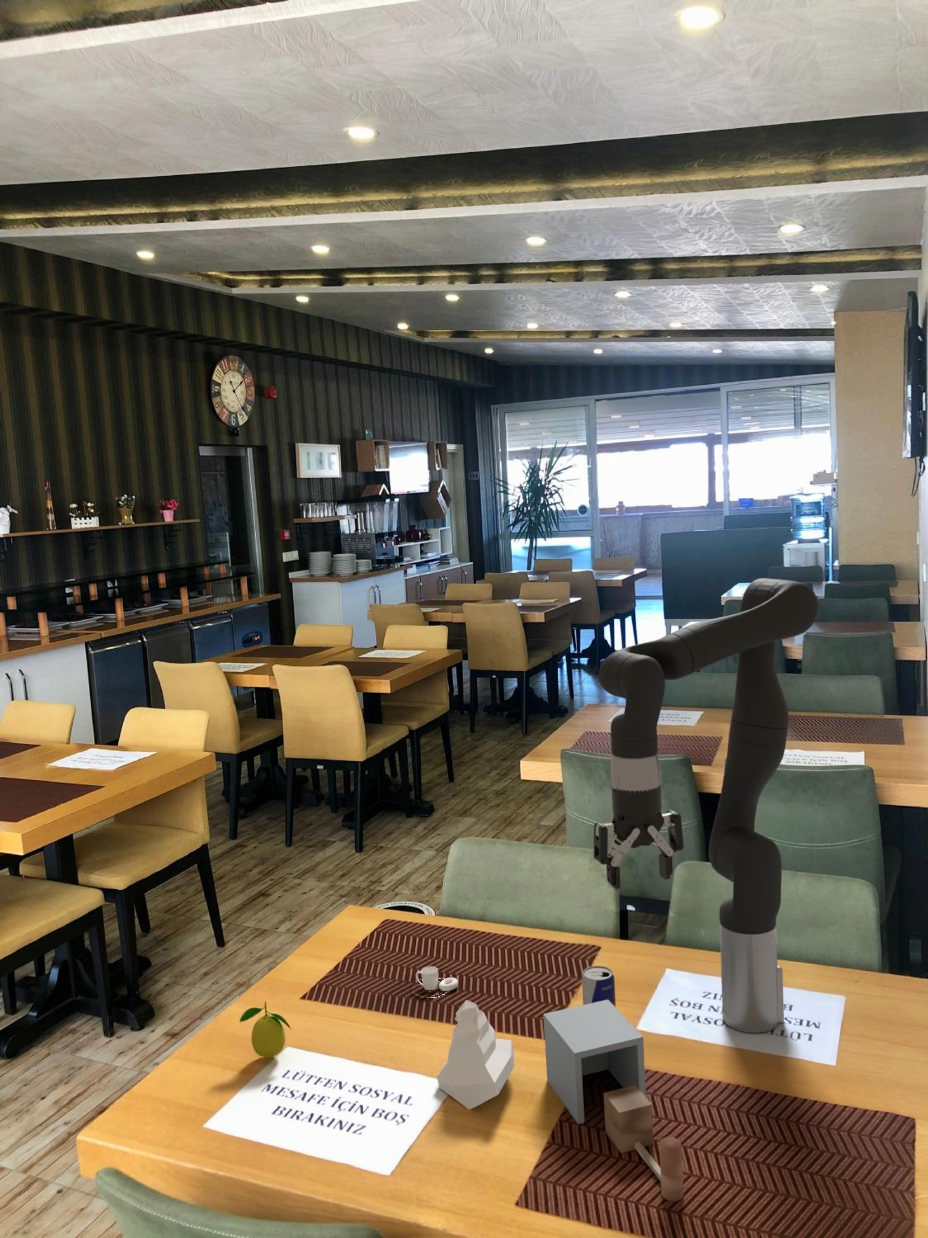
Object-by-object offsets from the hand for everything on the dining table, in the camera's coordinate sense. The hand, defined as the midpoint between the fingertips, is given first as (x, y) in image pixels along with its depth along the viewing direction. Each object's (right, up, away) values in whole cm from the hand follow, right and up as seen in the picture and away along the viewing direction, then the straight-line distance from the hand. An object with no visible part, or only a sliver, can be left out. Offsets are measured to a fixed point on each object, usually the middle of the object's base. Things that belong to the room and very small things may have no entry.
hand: (640, 882), depth 158 cm
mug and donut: (-32, -29, +30) cm, 53 cm away
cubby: (-7, -31, -3) cm, 32 cm away
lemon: (-60, -33, +12) cm, 70 cm away
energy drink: (-5, -30, +11) cm, 32 cm away
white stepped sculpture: (-25, -32, +1) cm, 41 cm away
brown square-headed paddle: (-2, -33, -20) cm, 39 cm away
